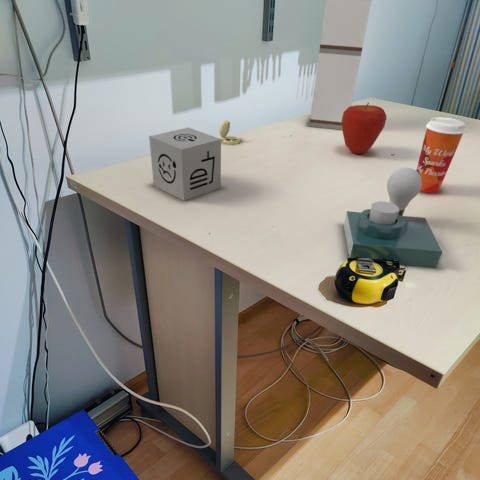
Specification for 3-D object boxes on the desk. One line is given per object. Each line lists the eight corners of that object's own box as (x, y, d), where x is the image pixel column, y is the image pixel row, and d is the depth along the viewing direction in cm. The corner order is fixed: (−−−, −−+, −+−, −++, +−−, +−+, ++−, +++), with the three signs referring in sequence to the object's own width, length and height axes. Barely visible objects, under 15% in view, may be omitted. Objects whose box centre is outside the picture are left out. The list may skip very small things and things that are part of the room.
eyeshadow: (234, 145, 112) (234, 125, 109) (218, 141, 114) (218, 122, 111) (242, 140, 115) (243, 121, 112) (226, 137, 117) (226, 118, 114)
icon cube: (220, 188, 90) (221, 139, 83) (183, 200, 84) (181, 149, 78) (190, 174, 95) (188, 127, 89) (153, 185, 89) (149, 136, 83)
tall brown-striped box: (347, 121, 135) (374, -19, 113) (346, 130, 127) (375, -18, 105) (312, 117, 137) (331, -21, 115) (309, 126, 129) (329, -21, 107)
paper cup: (405, 190, 93) (425, 122, 84) (410, 179, 98) (430, 114, 89) (442, 198, 90) (467, 129, 81) (445, 186, 96) (469, 120, 87)
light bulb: (405, 230, 78) (422, 177, 72) (374, 222, 80) (388, 169, 74) (412, 218, 82) (429, 167, 76) (382, 210, 84) (396, 160, 78)
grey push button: (392, 215, 72) (396, 202, 71) (397, 227, 69) (401, 214, 67) (366, 213, 72) (370, 200, 71) (370, 225, 69) (373, 211, 68)
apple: (357, 143, 118) (367, 95, 110) (386, 155, 111) (399, 105, 103) (327, 149, 113) (335, 99, 105) (356, 161, 106) (367, 109, 98)
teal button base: (420, 232, 78) (428, 207, 74) (436, 267, 68) (447, 240, 65) (343, 226, 78) (349, 200, 75) (349, 259, 69) (355, 232, 66)
